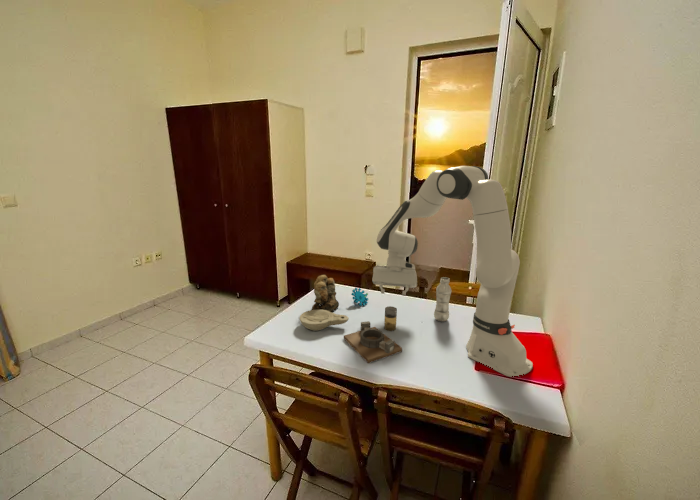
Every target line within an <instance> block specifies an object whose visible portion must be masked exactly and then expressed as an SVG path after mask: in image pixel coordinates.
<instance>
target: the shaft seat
mask: <svg viewBox="0 0 700 500" xmlns="http://www.w3.org/2000/svg"><path fill="white" fill-rule="evenodd" d="M343 340H345V342H346V343H347V344H348V345H349V346H351V347H352V348H353V350H354V351H355V352H356V353H357V354H358V355H359V356H361V357H362V359H364V361H365V362H367V364H370V363H373V362H376V361H379V360H382V359H385V358H387V357H390V356H393V355H395V354H396V355H397V354H399V353H401V352H403V347H402V346H400V345H399V344H398V343H396V342H395V340H393V339H392V338H391V337H390V336H388V335H386V334H385V333H384V332H383V331H382V330H380V329H379V328H377V327H376V326H372V327H371V321H361V322H360V330H359V331H355V332H351V333H348V334H345V335H343Z"/></svg>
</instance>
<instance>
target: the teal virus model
mask: <svg viewBox="0 0 700 500" xmlns="http://www.w3.org/2000/svg"><path fill="white" fill-rule="evenodd" d="M361 290H362V291H361ZM351 291H352V292H351V296H352V300H353V302H354V303H355V304H358V306H359V307H361V306H363V307H365V306H366V305H367V304H368V303H369V302H368V301H369V297H368V295H369V293H368V292H366V293H365V290H363V289H361V288H360V287H359V288H358V287H355V288H354V289H352V290H351Z"/></svg>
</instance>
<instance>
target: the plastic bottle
mask: <svg viewBox="0 0 700 500" xmlns="http://www.w3.org/2000/svg"><path fill="white" fill-rule="evenodd" d="M449 284H450V278H449V277H446V276H445V277H444V276H443V277H440V281H439V284H438V285H437V286H436V289H435V290H436V291H435V293H436V304H435V309H434V313H433V315H434V316H433V317H434V319H435V320H436V321H438V322H441V323H442V322H447V321H448V320H449V319H450V309H449V308H450V307H449V306H450V298H451V294H452V288H451V286H450V285H449Z"/></svg>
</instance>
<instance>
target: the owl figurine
mask: <svg viewBox="0 0 700 500" xmlns="http://www.w3.org/2000/svg"><path fill="white" fill-rule="evenodd" d="M313 293H314V296H315V299H314V300H313V302H314V304H313V305H312V307H311V310H320V309H321V310H327V311H329V312H331V313H335V312H336V310H338V308H339V306H340V304H339V303H340V302H339V301H338V300H337V297H336V295H337V292H336V282H335V280H334V278H333V277H329V278H328V276H327V275H326V274H321V275H318V276H317V278H316V279H315V281H314V283H313Z"/></svg>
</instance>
